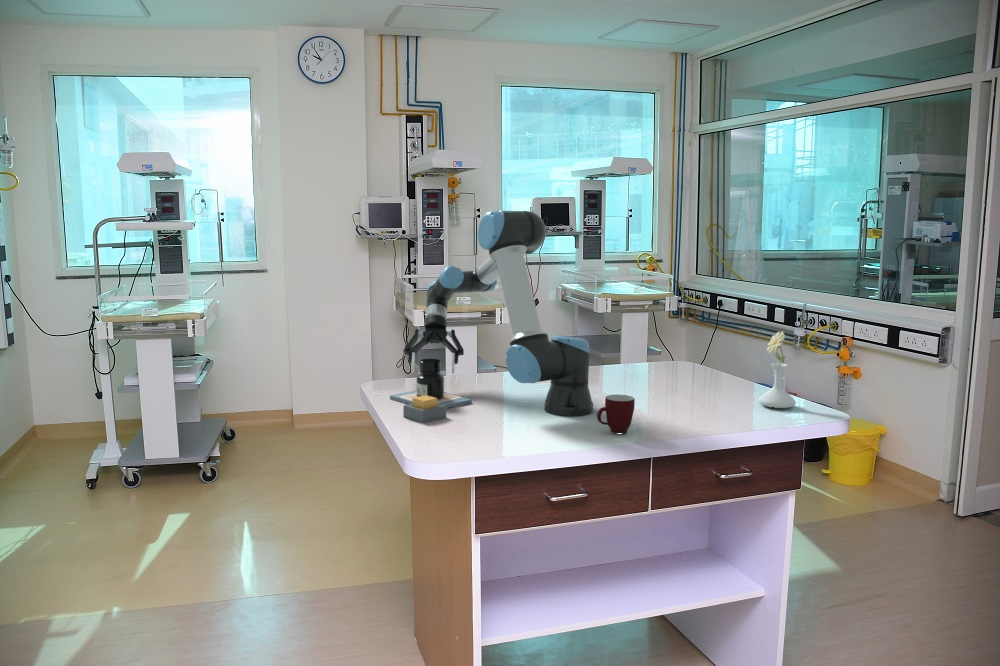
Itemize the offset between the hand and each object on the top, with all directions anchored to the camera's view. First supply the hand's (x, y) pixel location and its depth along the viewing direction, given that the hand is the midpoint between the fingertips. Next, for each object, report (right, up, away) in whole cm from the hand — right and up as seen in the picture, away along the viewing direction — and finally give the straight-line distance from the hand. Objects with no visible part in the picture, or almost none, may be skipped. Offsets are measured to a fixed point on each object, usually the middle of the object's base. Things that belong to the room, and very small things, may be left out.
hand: (432, 371), depth 257 cm
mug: (+55, -15, -42) cm, 71 cm away
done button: (0, -11, -28) cm, 30 cm away
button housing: (0, -12, -28) cm, 31 cm away
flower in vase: (+111, -11, -11) cm, 112 cm away
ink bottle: (0, -8, -9) cm, 12 cm away
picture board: (0, -9, -9) cm, 13 cm away
